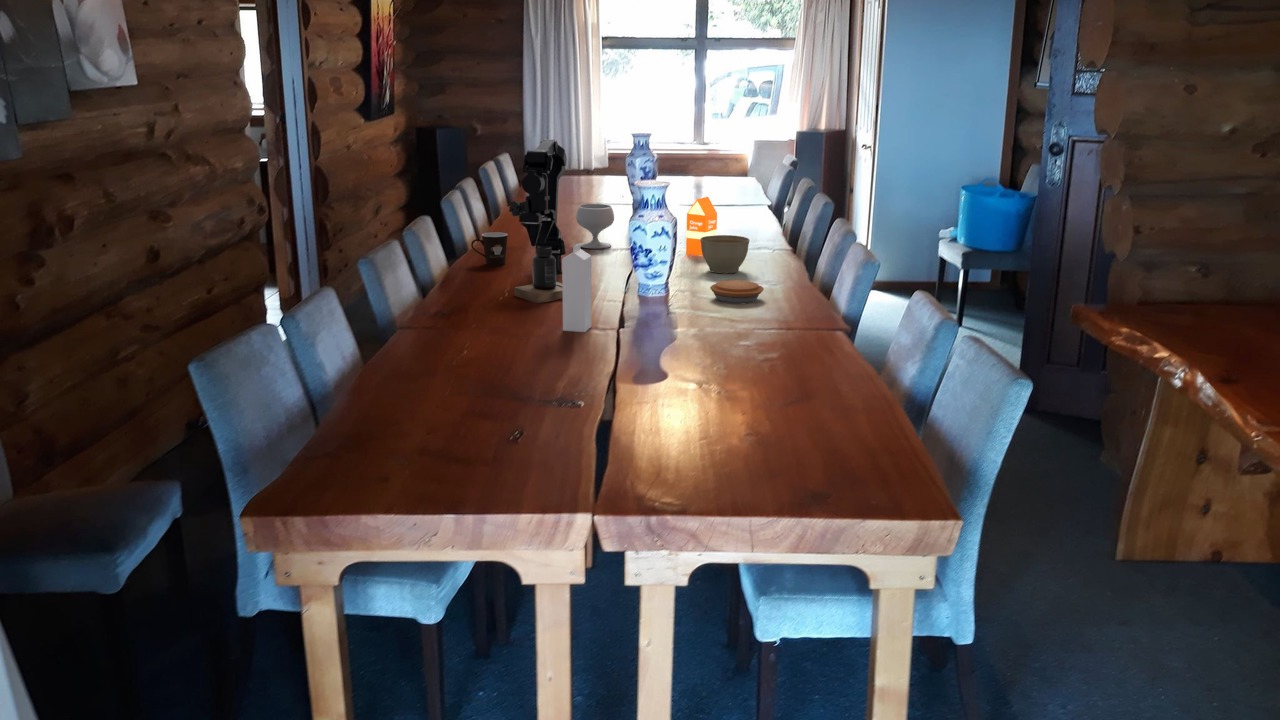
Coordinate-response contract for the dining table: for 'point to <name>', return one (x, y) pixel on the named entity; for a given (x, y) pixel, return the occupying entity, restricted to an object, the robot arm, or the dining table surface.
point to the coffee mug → (493, 248)
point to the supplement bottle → (544, 268)
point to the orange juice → (700, 224)
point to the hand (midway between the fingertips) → (538, 244)
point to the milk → (576, 290)
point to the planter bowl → (724, 252)
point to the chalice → (595, 222)
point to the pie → (736, 291)
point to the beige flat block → (539, 293)
